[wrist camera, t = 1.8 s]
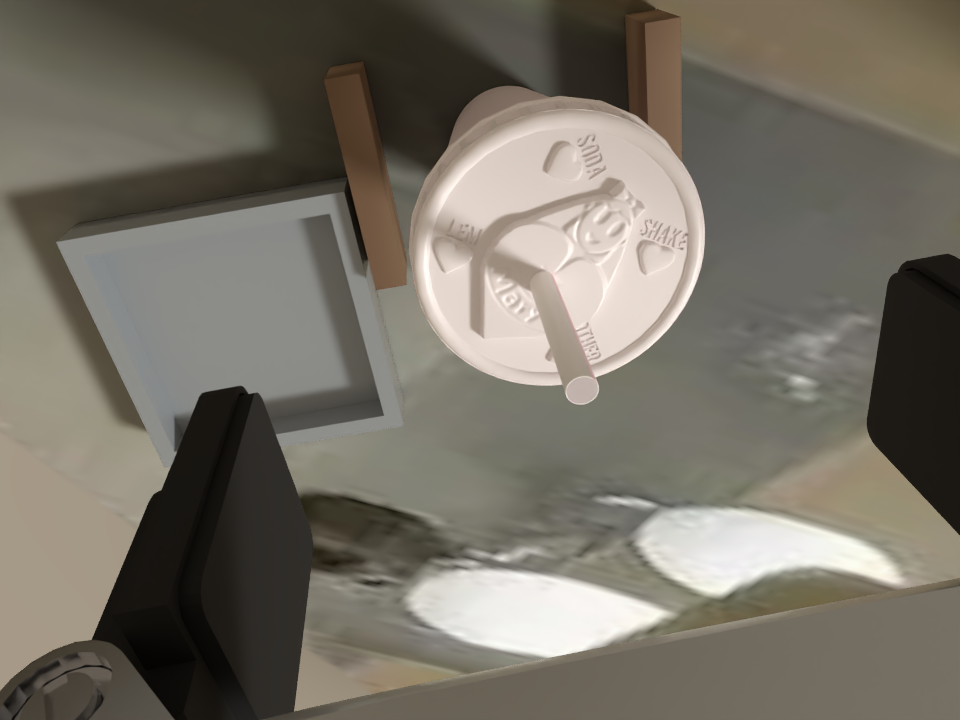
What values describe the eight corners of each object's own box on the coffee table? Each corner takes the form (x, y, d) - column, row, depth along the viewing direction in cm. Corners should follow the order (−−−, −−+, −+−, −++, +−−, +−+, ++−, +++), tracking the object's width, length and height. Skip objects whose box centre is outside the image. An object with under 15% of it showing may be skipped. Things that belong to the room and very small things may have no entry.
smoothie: (367, 149, 24) (323, 382, 12) (509, -12, 22) (636, 69, 10) (506, 273, 26) (589, 569, 14) (645, 141, 24) (878, 355, 12)
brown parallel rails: (657, 9, 22) (680, 17, 20) (662, 213, 25) (682, 236, 24) (330, 66, 22) (323, 79, 20) (378, 262, 26) (375, 290, 24)
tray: (347, 176, 24) (344, 191, 23) (404, 401, 29) (403, 426, 27) (76, 224, 24) (55, 242, 23) (176, 441, 29) (164, 467, 27)
